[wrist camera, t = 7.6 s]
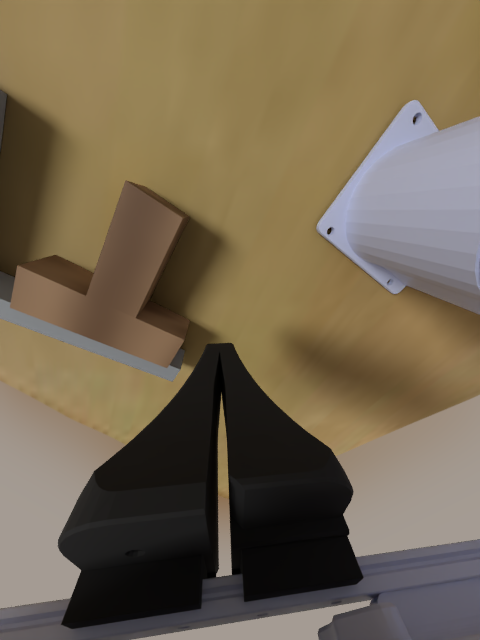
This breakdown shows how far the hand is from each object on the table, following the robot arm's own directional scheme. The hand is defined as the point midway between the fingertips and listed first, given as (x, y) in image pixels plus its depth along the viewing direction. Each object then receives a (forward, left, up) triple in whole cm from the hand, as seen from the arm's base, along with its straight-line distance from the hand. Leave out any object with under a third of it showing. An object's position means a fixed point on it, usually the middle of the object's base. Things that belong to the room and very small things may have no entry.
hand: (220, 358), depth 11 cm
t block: (+7, 0, -7) cm, 9 cm away
